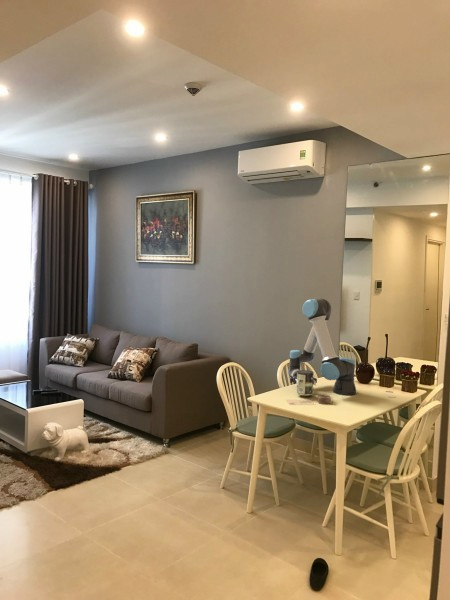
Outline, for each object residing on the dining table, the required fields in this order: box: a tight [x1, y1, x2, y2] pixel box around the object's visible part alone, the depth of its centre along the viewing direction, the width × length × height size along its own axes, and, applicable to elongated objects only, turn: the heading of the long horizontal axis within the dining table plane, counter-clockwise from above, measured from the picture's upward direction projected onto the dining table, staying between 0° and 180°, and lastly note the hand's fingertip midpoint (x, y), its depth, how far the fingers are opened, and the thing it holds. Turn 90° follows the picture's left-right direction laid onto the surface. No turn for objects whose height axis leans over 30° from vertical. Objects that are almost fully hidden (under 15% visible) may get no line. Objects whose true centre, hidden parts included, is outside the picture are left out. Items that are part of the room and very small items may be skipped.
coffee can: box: [296, 369, 314, 396], centre depth 307 cm, size 10×10×14 cm
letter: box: [285, 399, 317, 406], centre depth 293 cm, size 16×12×1 cm
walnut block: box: [317, 394, 332, 405], centre depth 294 cm, size 7×7×4 cm
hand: (306, 383), depth 303 cm, fingers closed on coffee can, 10 cm apart
